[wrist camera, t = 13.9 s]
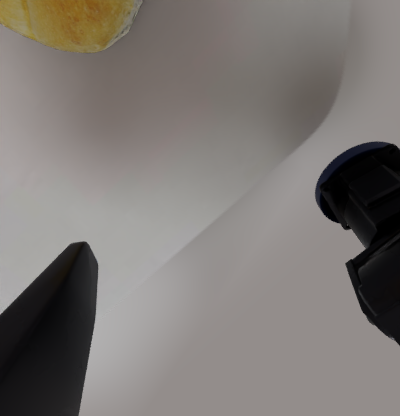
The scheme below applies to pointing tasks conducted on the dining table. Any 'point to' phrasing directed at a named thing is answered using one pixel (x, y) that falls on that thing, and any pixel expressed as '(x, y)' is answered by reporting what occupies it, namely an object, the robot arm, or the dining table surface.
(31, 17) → the bread roll
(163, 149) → the dining table surface
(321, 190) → the robot arm
